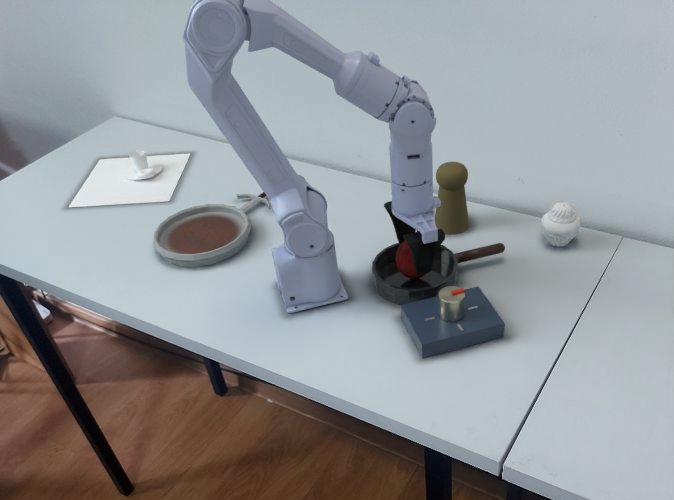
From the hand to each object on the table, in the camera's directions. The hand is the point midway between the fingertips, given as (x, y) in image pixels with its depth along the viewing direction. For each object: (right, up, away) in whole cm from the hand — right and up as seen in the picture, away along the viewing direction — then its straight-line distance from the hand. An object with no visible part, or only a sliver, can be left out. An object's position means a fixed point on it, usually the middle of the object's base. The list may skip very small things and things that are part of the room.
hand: (414, 258), depth 99 cm
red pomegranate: (0, -3, +3) cm, 4 cm away
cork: (+7, +8, +14) cm, 17 cm away
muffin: (+24, +4, +8) cm, 25 cm away
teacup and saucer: (-55, +21, +35) cm, 69 cm away
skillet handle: (+10, +1, +3) cm, 11 cm away
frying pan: (-33, +8, +19) cm, 38 cm away
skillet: (0, -3, +3) cm, 4 cm away
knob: (+5, -9, -8) cm, 13 cm away
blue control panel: (+5, -11, -6) cm, 13 cm away
